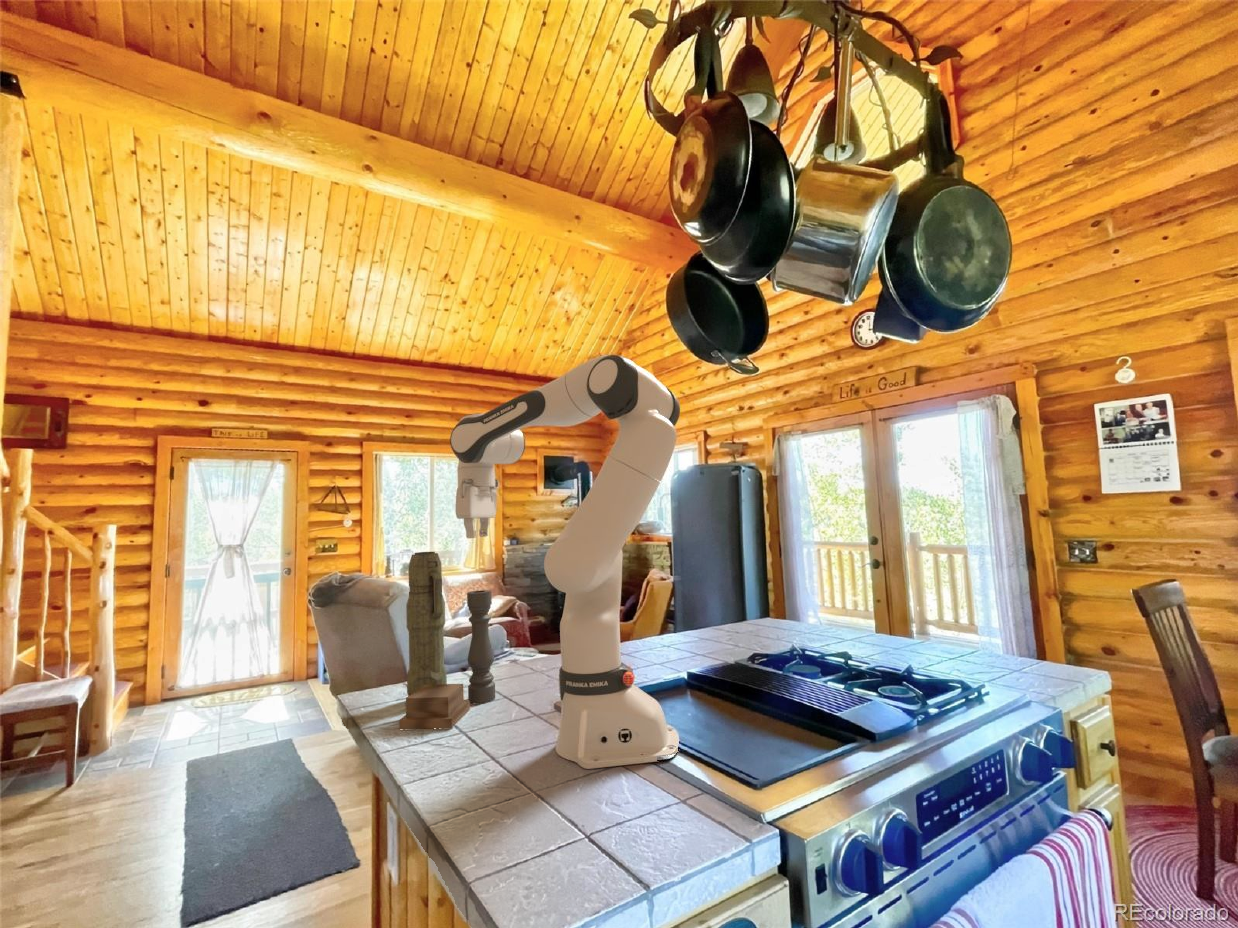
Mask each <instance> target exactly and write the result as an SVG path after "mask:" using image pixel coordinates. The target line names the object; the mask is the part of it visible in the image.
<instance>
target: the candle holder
mask: <svg viewBox="0 0 1238 928" xmlns="http://www.w3.org/2000/svg"><path fill="white" fill-rule="evenodd" d="M492 597H493V596H492V590H490V589H481V590H480V589H479V590H471V591H467V593H466V602H467V603H466V604H467V605H466V606H467V607H468V611H469V613H470V614H471V616H469V618H468V622H470V624H471V639H470V640H471V641H470V645H469V649H468V654H467V664H468V666H469V667H470V669H471V672H472V674H471V675H470V677H469V678H468V682H469V683H470V684H468V685H467V692H468V693H467V694H468V695H467V698H468V700H467V701H470V702H471V703H470V704H472V703H482V704H487V703H490V702H492V701H494V700H495V699H496V683H495V681H494V679H495V678H494V675H493V674H492V673H491V670H492V665H493V664H494V660H495V655H494V651H493V648H492V642H491V639H490V635H489V622H490V620H491V619H492V616H491V615H490V614H489V612H490V610H491V607H492V606H491V605H492V602H493V601H492ZM486 702H487V703H486Z"/></svg>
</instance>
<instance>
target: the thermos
mask: <svg viewBox="0 0 1238 928" xmlns="http://www.w3.org/2000/svg"><path fill="white" fill-rule="evenodd" d="M441 561H442V560H441V558H440V555H439V553H438V552H436V551H420V552H414V554H411V557H410V560H409V563H408V588H409V591H408V599H407V602H406V611H405V612H406V629H407V631H408V656H409V657H408V659H409V661H408V664H409V665H408V671H407V675H406V691H407V692H406V694H407V697H408V696H410V695H411V694H412V693H414V692H415V691H416V690H418V689H419V688H420V687H422V686H423V685H437V684H448V683H447V675H448V674H447V673H448V672H447V669H446V666H445V651H444V648H445V647H444V641H445V640H444V627H445V624H446V601H445V599H444V596H443V575H442V572H443V571H442V562H441Z"/></svg>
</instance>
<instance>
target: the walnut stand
mask: <svg viewBox="0 0 1238 928" xmlns="http://www.w3.org/2000/svg"><path fill="white" fill-rule="evenodd" d="M464 695H465V694H464V683H447V684H437V685H423V686H422V687H420V688H419V689H418V690H416V691H415V692H414V693H412V694H411V695H410V696H408V695H407V697H406V698H405V715H404V716H402V717H401V718H400V719H399V720H398V730H399V729H431V730H440V729H439V728H452V727H453V726H454V727H455V726H456V725H457V724H458V723H459V722H460V721H461V720H462V719H463V718H464V717H465V716H466V715H467V713H468V712H469V711H470V710H471V707H470V706H471V705H470V704H471V703H470V701H468V700H464V699H465V698H464V697H465V696H464ZM463 716H464V717H463ZM462 717H463V718H462ZM461 718H462V719H461ZM460 719H461V720H460ZM459 720H460V721H459ZM458 721H459V722H458ZM457 722H458V723H457ZM456 723H457V724H456ZM455 724H456V725H455ZM454 727H453V728H454ZM434 728H436V729H434ZM453 728H452V729H453Z"/></svg>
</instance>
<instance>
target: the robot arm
mask: <svg viewBox="0 0 1238 928" xmlns="http://www.w3.org/2000/svg"><path fill="white" fill-rule="evenodd" d="M601 413H603V414H604V415H605V417H606V418H607V419H608V420H616V422H617V424H618V434H617V437H616V439H615V442H614V444H613V445H612V447H611V449H610V450H609V453H608V455H607V456H606V458H605V460H604V462H603V464H602V466H601V467H600V469H599V472H598V474H597V476H596V477H595V479H594V481H593V483H592V485H591V487H590V489H589V490H588V492H587V494H586V496H585V497H584V498H583V500H582V501H581V502H580V504H579V505H578V507H577V509H576V510H575V511H574V512H573V514H572V515H571V517H570V519H569V520H568V521H567V522H566V524H565V526H564V528H563V529H562V530H561V532H560V534H559V535H558V537H557V538H556V540H555V541H554V542H553V543H552V545H550V547H549V548H548V550H547V551H546V554H545V556H544V559H543V560H544V561H543V569H544V573H545V577H546V579H547V580H548V582H549V583H550V584H551V585H552V587H553V588H555V589H556V590H558V591H560V592H562V593H565V597H564V606H563V611H562V617H561V619H560V623H559V631H560V632H559V636H560V637H559V638H560V639H559V641H560V659H561V661H560V662H561V663H560V665H561V666H560V668H559V674H558V687H559V689H558V691H559V692H558V693H559V696H560V697H559V698H560V701H561V711H560V712H561V713H560V721H559V730H558V735H557V740H556V744H555V752H556V753H557V754H558V756H560V757H561V758H563V759H566V760H569V761H572V762H575V763H576V764H577V765H579V766H580V767H581V768H583V769H587V770H589V769H599V768H607V767H618V766H627V765H634V764H635V765H637V764H645V763H654V762H658V761H657V757H659V756H666V755H667V756H668V755H672V754H675V753H677V752H678V753H679V751H678V746H679V741H680V735H679V733H678V730H677V729H676V728H675V727H673V726H671V725H669V724H667V720H666V716H665V713H664V711H663V708H662V706H661V704H660V703H659V702H658V701H657V699H655V698H654V697H652V696H651V695H650V694H648V693H647V692H645V691H643V690H642V689H641V688H639V687H638V686H637V685H635V684H634V682H635V673H634V672H633V668H632V665H631V664H628V665H627V664H625V663H623V662H622V652H621V649H622V648H621V631H620V630H621V629H620V628H621V627H620V617H621V616H620V612H621V602H622V601H621V600H622V581H623V561H624V560H623V559H624V556H623V555H624V554H623V553H624V552H623V547H624V546H625V544H626V542H627V541H628V539H630V536H631V535H632V533H633V532H634V531H635V528H636V527H637V525H638V524H639V523H640V522H641V520H642V518H643V517H644V516H645V515H644V514H645V513H646V510H647V509H648V507H649V505H650V504H651V501H652V499H653V497H654V495H655V493H656V492H657V490H658V487H659V486H660V484H661V482H662V480H663V478H664V475H665V474H666V472H667V469H668V467H669V464H670V462H671V459H672V457H673V453H674V450H675V447H676V444H677V439H678V431H677V429H676V427H675V426H676V425H677V423H678V421H679V419H680V414H681V406H680V402H679V400H678V398H677V397H676V395H675V394H674V393H673V392H672V391H671V390H670V388H668V387H666V386H665V385H664V384H662V382H661V381H659V380H658V379H657V378H656V377H655V376H654V375H653V374H652V373H650V372H649V371H648V370H646V369H645V368H643V367H641V366H639V365H637V364H635V363H634V361H632V360H631V359H629V358H627V357H624V356H621V355H619V354H618V355H617V354H603V355H600V356H597V357H594V358H592V359H589V360H587V361H585V362H583V363H580V364H579V365H577V366H576V367H574V368H572V369H570V370H569V371H567V372H566V373H564V374H562V375H561V376H559V377H557V378H555V379H554V380H552V381H549V382H548V383H546V384H544V385H542V386H539V387H537V388H535V389H532V390H530V391H527V392H526V393H523V394H521V395H518V396H515V397H514V398H512V399H510V400H508V401H506V402H504V403H502V404H500V405H499V406H497V407H495V408H493V409H491V410H489V411H487V412H485V413H481V412H480V413H479V412H477V413H469V414H467V415H464V416H463V417H461V418H460V420H459V422H457V423H456V425H455V426H454V428H453V429H452V431H451V433H450V436H449V437H450V438H449V442H450V448H451V450H452V452H453V454H454V456H455V457H456V458H457V459H458V464H457V469H456V470H457V488H456V494H455V517H456V519H457V520H461V519H463V526H464V528H465V533H466V534H465V536H466V539H475V538H476V537H477V535H476V533H477V531H476V530H475V521H476V520H475V519H479V523H480V528H479V531H478V533H479V537H482V538H484V537H485V538H486V537H488V536H489V528H490V527H489V526H490V520H491V519H495V517H496V515H497V508H498V507H497V506H498V505H497V504H498V492H497V489H499V486H500V485H499V484H500V483H499V480H498V478H497V477H496V472H495V470H496V469H495V464H497V465H511V464H515V463H517V462H518V461H519V460H520V459H521V458H522V457H523V455H524V453H525V449H526V438H525V436H524V434H523V432H522V430H521V429H524V428H529V427H540V426H541V427H557V428H558V427H560V428H561V427H562V428H567V427H572V426H578V425H579V424H582V423H585V422H588V421H589V420H591V419H592V418H595V417H596V416H597V415H599V414H601ZM678 753H677V754H678Z"/></svg>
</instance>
